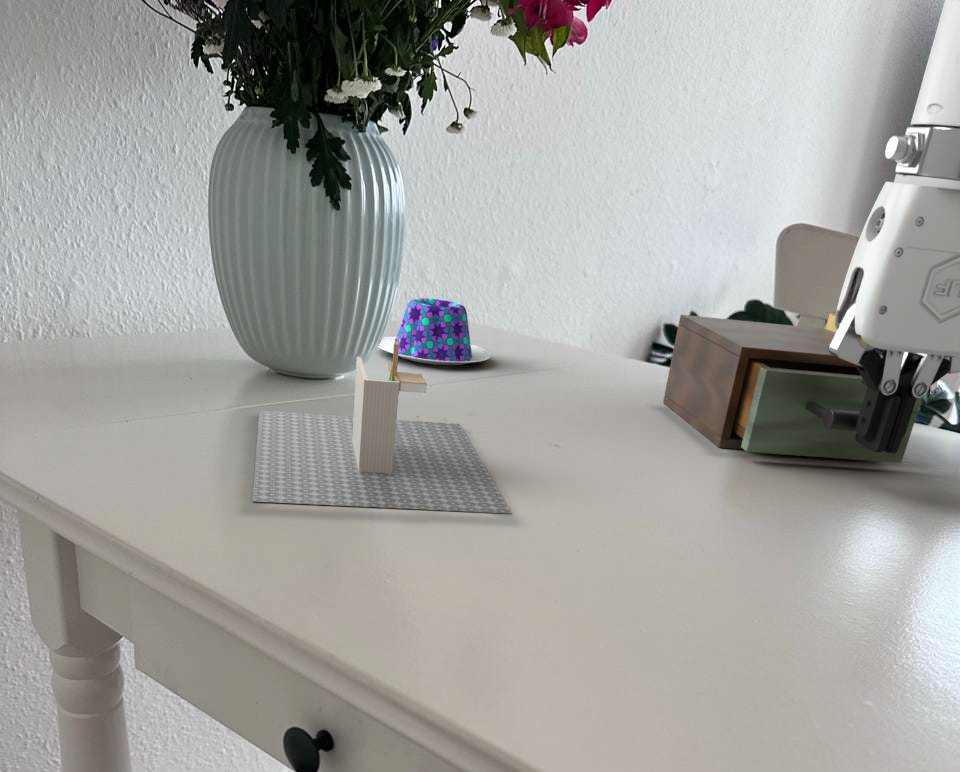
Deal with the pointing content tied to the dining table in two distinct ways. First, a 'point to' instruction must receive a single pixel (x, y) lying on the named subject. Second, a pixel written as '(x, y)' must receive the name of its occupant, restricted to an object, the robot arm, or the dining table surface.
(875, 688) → the dining table surface
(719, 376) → the cabinet
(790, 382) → the drawer
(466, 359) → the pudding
